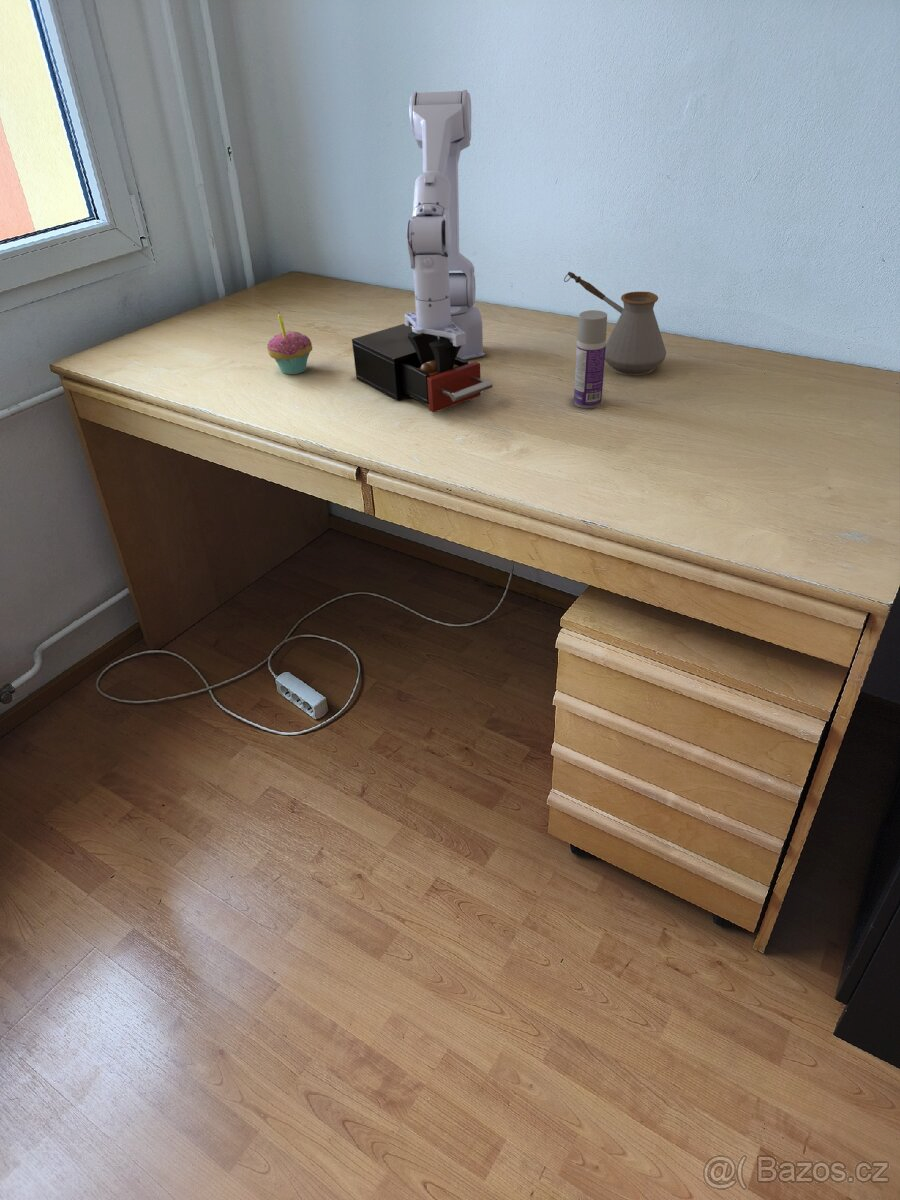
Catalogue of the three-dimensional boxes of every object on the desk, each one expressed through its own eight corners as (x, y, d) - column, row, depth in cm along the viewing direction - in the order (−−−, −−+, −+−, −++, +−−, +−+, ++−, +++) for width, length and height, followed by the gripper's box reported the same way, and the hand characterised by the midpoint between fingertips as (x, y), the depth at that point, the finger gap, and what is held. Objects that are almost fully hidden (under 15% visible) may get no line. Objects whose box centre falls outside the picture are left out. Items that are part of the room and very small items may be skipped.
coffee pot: (675, 364, 148) (686, 281, 139) (644, 384, 142) (653, 298, 132) (579, 341, 160) (583, 263, 151) (545, 359, 153) (548, 278, 144)
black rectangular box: (449, 382, 146) (447, 342, 142) (397, 400, 141) (393, 359, 136) (406, 362, 155) (403, 323, 150) (356, 379, 150) (351, 339, 145)
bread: (444, 375, 142) (443, 351, 139) (459, 382, 139) (458, 358, 136) (415, 385, 139) (413, 361, 136) (429, 392, 136) (428, 368, 134)
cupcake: (306, 379, 151) (296, 315, 143) (264, 377, 152) (252, 314, 145) (321, 362, 157) (312, 300, 150) (280, 360, 159) (269, 299, 151)
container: (603, 398, 138) (610, 310, 129) (598, 409, 134) (605, 320, 125) (576, 396, 139) (581, 309, 130) (571, 407, 136) (575, 318, 126)
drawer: (498, 403, 136) (498, 370, 132) (450, 421, 131) (448, 388, 128) (438, 375, 147) (436, 344, 143) (391, 390, 142) (388, 359, 139)
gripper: (387, 291, 133) (394, 370, 141) (439, 311, 123) (443, 395, 132) (421, 282, 136) (426, 360, 144) (474, 301, 127) (476, 383, 135)
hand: (436, 376), depth 138 cm, fingers closed on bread, 4 cm apart
